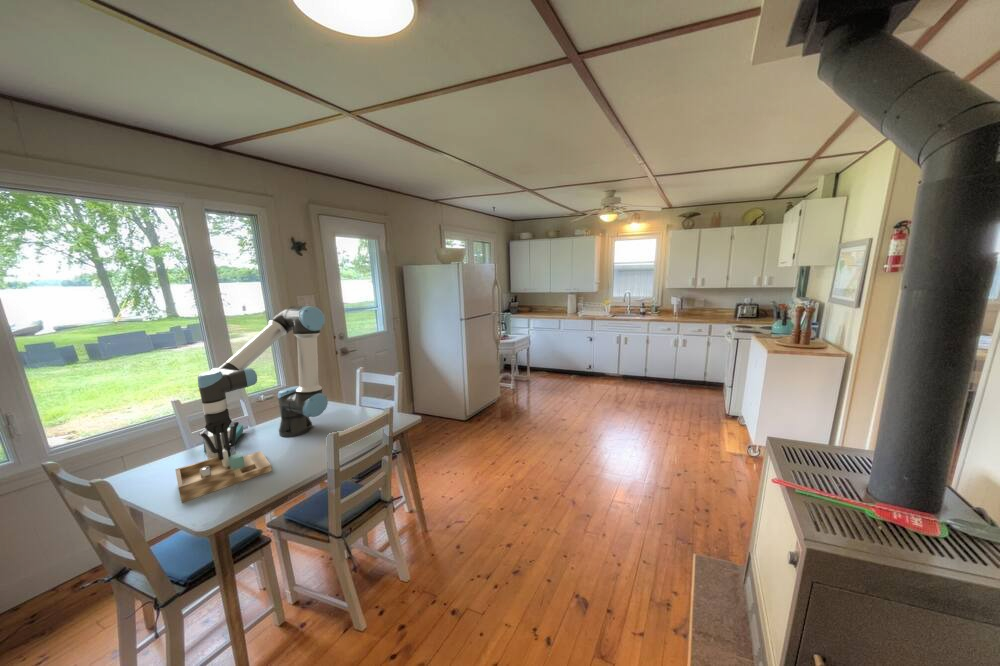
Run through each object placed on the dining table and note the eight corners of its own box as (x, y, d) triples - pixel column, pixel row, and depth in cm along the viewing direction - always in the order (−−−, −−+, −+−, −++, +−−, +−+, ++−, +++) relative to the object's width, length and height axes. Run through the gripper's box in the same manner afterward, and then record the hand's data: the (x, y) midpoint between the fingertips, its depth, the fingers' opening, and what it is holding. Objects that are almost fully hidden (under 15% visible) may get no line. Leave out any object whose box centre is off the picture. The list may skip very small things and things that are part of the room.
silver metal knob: (212, 479, 137) (209, 465, 136) (213, 482, 135) (210, 468, 134) (202, 483, 135) (199, 468, 134) (203, 486, 133) (200, 471, 132)
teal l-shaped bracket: (232, 449, 169) (231, 428, 168) (204, 452, 165) (202, 430, 164) (243, 434, 186) (242, 414, 184) (217, 436, 181) (216, 416, 180)
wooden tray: (261, 456, 160) (259, 443, 159) (271, 470, 147) (269, 457, 146) (178, 483, 140) (175, 469, 139) (181, 502, 128) (178, 487, 127)
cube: (243, 462, 150) (241, 452, 149) (244, 466, 147) (243, 456, 146) (229, 466, 147) (228, 456, 146) (231, 470, 144) (229, 460, 143)
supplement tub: (235, 464, 153) (230, 432, 151) (207, 472, 148) (201, 439, 146) (237, 455, 161) (232, 425, 159) (210, 462, 156) (204, 430, 154)
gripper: (230, 403, 149) (240, 456, 153) (191, 414, 138) (202, 471, 142) (239, 406, 145) (248, 460, 149) (199, 418, 134) (211, 476, 138)
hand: (226, 465), depth 145 cm, fingers closed
